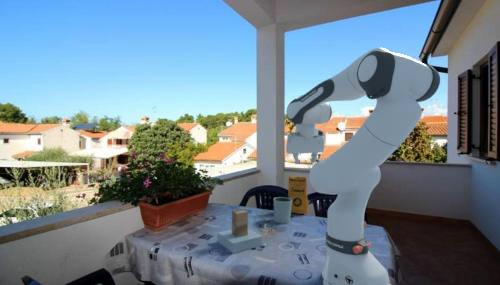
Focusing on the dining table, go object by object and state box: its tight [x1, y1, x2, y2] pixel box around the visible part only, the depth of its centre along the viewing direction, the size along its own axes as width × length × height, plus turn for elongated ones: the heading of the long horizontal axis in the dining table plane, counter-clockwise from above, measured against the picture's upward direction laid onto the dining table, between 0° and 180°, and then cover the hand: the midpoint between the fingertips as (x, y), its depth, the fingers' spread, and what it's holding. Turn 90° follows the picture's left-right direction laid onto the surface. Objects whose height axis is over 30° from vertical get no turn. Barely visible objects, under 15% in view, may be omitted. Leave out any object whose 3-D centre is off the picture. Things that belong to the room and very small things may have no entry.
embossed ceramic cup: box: [272, 196, 292, 225], centre depth 142 cm, size 10×10×12 cm
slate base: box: [217, 228, 263, 254], centre depth 112 cm, size 14×14×4 cm
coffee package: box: [287, 175, 309, 215], centre depth 158 cm, size 10×12×22 cm
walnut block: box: [231, 208, 249, 237], centre depth 112 cm, size 5×5×10 cm
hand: (305, 163), depth 116 cm, fingers open, 8 cm apart
